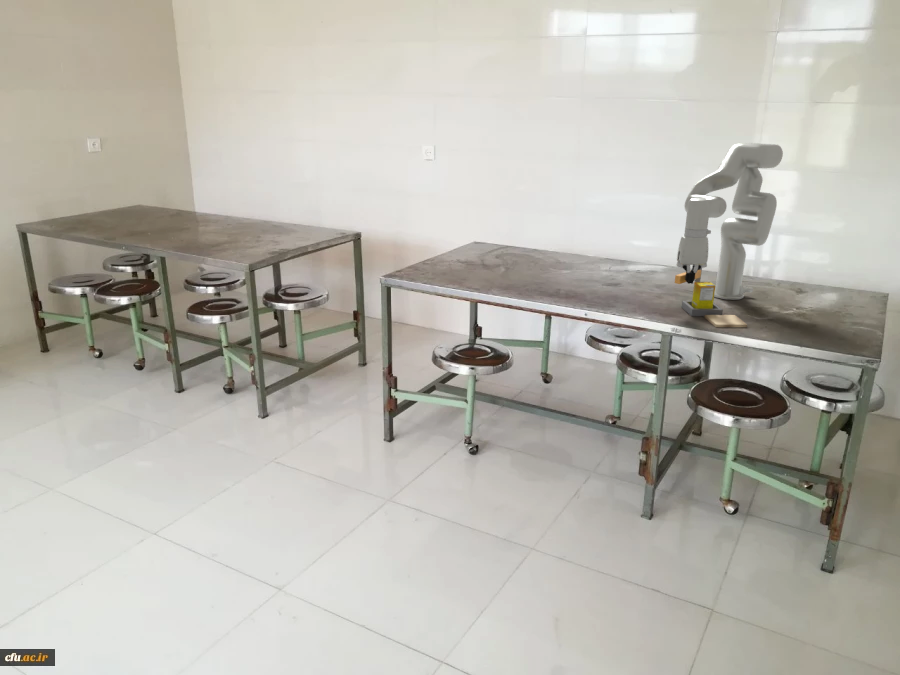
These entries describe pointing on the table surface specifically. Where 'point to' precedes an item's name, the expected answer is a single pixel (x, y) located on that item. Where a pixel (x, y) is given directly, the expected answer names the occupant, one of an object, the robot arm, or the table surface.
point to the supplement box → (703, 295)
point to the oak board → (725, 321)
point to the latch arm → (681, 277)
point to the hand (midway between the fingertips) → (689, 282)
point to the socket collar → (701, 312)
